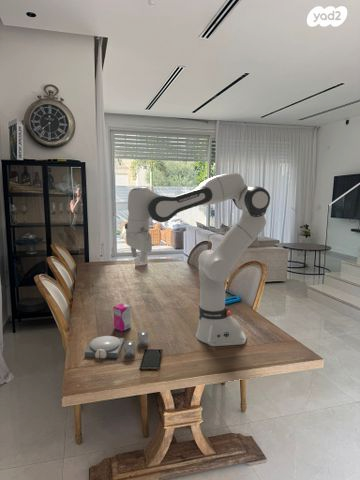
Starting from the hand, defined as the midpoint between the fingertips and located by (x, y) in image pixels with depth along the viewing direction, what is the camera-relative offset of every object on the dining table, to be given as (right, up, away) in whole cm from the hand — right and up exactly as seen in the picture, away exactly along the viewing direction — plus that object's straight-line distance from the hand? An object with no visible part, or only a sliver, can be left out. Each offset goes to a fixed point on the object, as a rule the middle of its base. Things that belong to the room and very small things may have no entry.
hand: (138, 259), depth 137 cm
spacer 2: (+2, -37, +3) cm, 37 cm away
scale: (-14, -38, -2) cm, 41 cm away
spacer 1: (-3, -38, -6) cm, 39 cm away
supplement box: (-10, -34, +18) cm, 40 cm away
